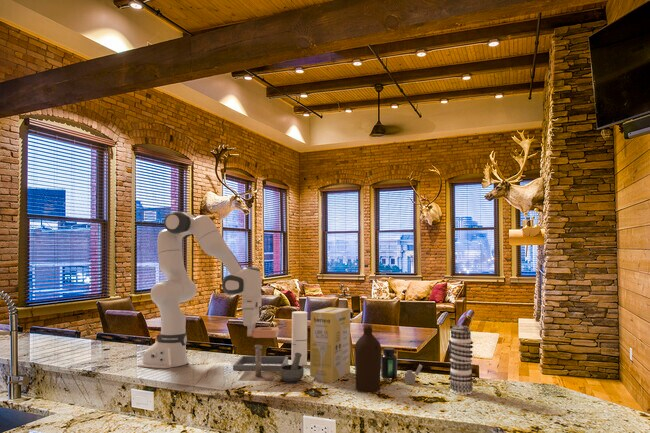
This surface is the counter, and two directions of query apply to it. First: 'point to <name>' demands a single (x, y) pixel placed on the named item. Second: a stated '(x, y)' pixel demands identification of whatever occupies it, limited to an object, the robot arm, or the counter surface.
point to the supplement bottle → (388, 363)
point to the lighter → (411, 375)
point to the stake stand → (257, 370)
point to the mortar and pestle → (292, 371)
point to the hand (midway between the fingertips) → (251, 333)
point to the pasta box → (330, 344)
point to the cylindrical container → (299, 336)
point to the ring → (264, 332)
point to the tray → (264, 360)
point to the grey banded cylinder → (460, 360)
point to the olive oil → (367, 361)
